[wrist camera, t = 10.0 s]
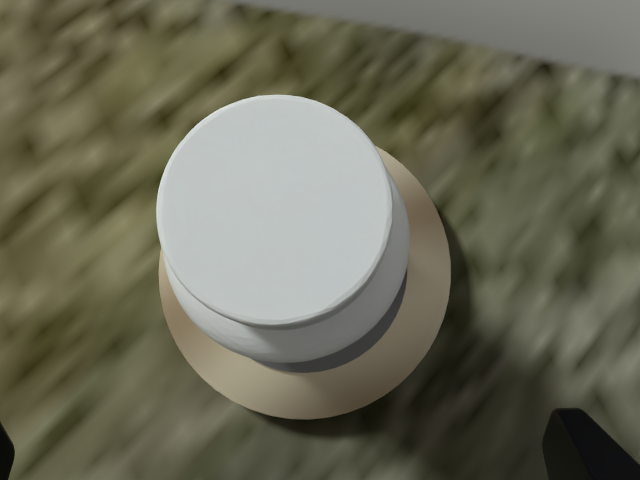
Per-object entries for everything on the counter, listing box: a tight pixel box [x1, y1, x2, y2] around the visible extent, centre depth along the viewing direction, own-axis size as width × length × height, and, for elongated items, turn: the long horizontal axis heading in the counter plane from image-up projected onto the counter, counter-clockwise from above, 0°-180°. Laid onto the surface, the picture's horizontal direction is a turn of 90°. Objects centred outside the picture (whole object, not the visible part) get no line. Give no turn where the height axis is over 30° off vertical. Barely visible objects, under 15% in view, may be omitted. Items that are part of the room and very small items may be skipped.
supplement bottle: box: [156, 95, 410, 363], centre depth 14 cm, size 5×5×10 cm
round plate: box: [159, 145, 451, 419], centre depth 20 cm, size 10×10×1 cm
